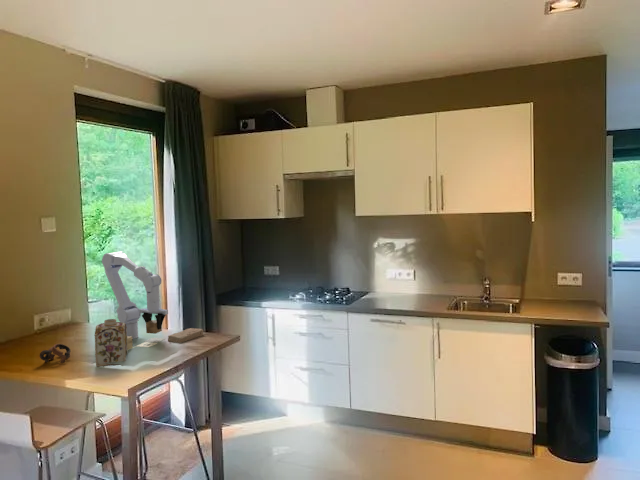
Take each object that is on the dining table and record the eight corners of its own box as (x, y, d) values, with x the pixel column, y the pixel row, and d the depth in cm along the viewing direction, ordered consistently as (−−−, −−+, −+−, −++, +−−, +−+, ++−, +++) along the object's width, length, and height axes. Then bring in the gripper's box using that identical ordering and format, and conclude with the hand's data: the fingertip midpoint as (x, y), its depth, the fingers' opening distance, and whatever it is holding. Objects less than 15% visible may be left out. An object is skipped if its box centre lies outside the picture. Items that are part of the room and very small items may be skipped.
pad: (143, 342, 243) (143, 341, 243) (153, 338, 250) (153, 337, 250) (156, 343, 241) (156, 342, 241) (165, 339, 248) (165, 338, 248)
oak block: (116, 349, 230) (115, 338, 230) (123, 346, 235) (123, 335, 235) (125, 350, 229) (124, 339, 229) (132, 347, 234) (132, 336, 233)
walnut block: (146, 333, 243) (145, 322, 243) (152, 330, 248) (152, 320, 247) (155, 333, 242) (154, 323, 241) (161, 330, 246) (161, 320, 246)
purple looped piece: (57, 358, 226) (66, 342, 225) (68, 370, 221) (76, 354, 220) (31, 358, 216) (40, 341, 215) (41, 371, 211) (50, 354, 210)
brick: (180, 346, 240) (179, 336, 239) (166, 344, 244) (166, 334, 243) (204, 338, 254) (203, 329, 254) (191, 336, 258) (191, 327, 258)
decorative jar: (95, 367, 210) (93, 324, 209) (99, 359, 221) (97, 317, 220) (126, 364, 213) (124, 321, 212) (128, 356, 225) (126, 315, 223)
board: (111, 353, 229) (111, 350, 229) (145, 339, 252) (144, 337, 252) (138, 356, 225) (138, 353, 224) (170, 341, 247) (170, 338, 247)
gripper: (134, 301, 242) (136, 329, 243) (161, 302, 238) (162, 331, 239) (144, 298, 249) (145, 326, 250) (170, 299, 245) (171, 327, 246)
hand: (154, 328), depth 245 cm, fingers closed on walnut block, 5 cm apart
